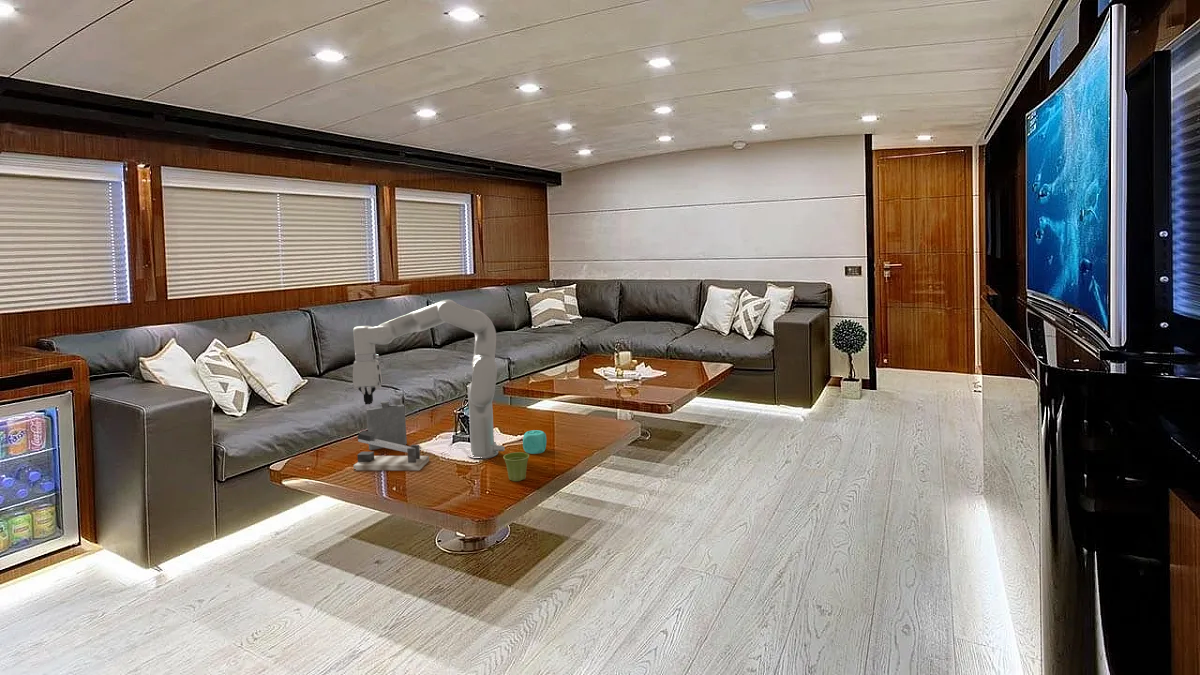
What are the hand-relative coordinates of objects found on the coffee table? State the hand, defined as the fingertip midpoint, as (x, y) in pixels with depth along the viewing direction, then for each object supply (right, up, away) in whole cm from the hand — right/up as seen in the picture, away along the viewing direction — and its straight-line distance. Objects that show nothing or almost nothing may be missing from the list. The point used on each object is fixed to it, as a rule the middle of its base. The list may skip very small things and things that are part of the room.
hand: (368, 403), depth 260 cm
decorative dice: (+64, -22, +18) cm, 70 cm away
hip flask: (-2, -22, +29) cm, 36 cm away
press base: (+8, -25, +3) cm, 26 cm away
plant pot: (+60, -26, -16) cm, 68 cm away
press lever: (+6, -17, +2) cm, 18 cm away
